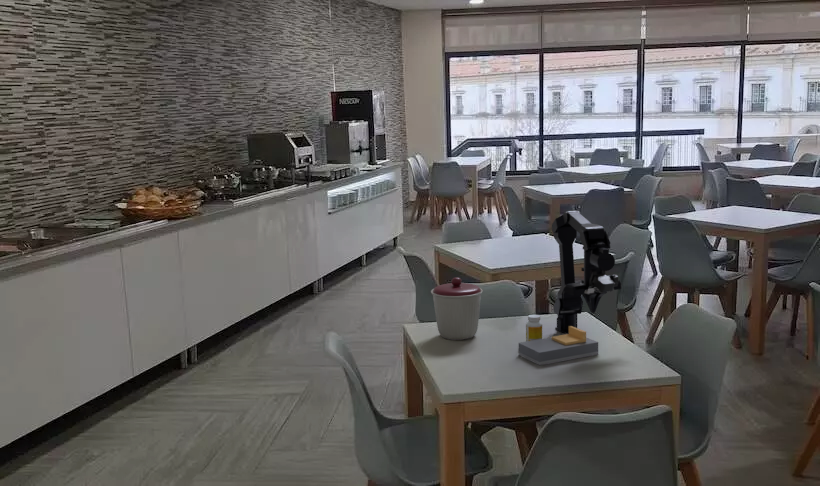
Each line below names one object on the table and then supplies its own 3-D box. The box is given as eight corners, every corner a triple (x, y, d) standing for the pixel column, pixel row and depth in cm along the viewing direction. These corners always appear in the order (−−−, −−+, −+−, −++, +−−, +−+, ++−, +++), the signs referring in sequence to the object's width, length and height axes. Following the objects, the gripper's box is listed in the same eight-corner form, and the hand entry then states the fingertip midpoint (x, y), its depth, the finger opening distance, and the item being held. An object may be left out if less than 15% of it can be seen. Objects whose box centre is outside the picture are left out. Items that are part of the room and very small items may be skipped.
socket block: (575, 344, 253) (575, 333, 252) (598, 354, 242) (598, 342, 241) (518, 354, 244) (518, 342, 243) (539, 365, 233) (539, 352, 233)
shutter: (571, 335, 249) (571, 325, 248) (586, 341, 242) (586, 331, 241) (551, 339, 246) (551, 329, 245) (565, 345, 239) (565, 335, 238)
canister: (424, 333, 273) (422, 275, 270) (470, 326, 279) (469, 270, 276) (444, 346, 256) (442, 285, 253) (492, 339, 262) (491, 279, 259)
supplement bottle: (523, 343, 257) (522, 315, 255) (536, 340, 259) (535, 313, 258) (532, 347, 252) (532, 318, 251) (545, 344, 254) (545, 316, 253)
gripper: (584, 272, 233) (584, 322, 235) (633, 266, 240) (632, 314, 243) (563, 266, 243) (563, 314, 245) (610, 260, 250) (610, 307, 253)
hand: (592, 312), depth 246 cm, fingers closed
